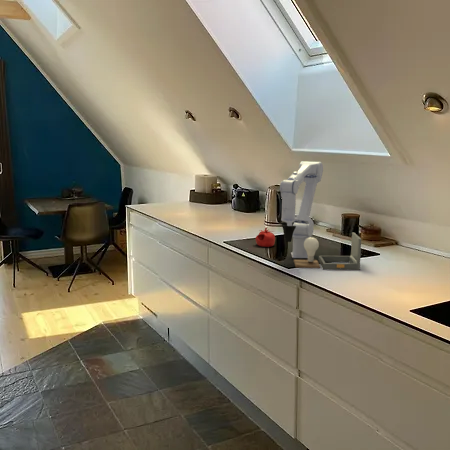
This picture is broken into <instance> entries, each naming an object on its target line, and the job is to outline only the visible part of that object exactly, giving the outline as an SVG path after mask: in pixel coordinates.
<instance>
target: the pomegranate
mask: <svg viewBox="0 0 450 450" xmlns="http://www.w3.org/2000/svg"><path fill="white" fill-rule="evenodd" d="M258 231H259V233H258V234H257V235H256V236H255V243H256V245H257V246H259V247H262V248H271V247H273V246H274V245H275V242H276V237H275V236H276V235H275V234H274V230H270V229H268V227H265V228H264V229H263V230H262V229H259V230H258Z"/></svg>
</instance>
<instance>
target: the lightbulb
mask: <svg viewBox="0 0 450 450" xmlns="http://www.w3.org/2000/svg"><path fill="white" fill-rule="evenodd" d="M319 243H320V242H319V241H318V239H317V238H316V237H313V236H311V237H309V238H307V239H306V240H305V241H304V248H305V250H306V251H307V255H308V258H307V260H308V262H310V263H312V262H313V261H314V260H315V255H316V252H317V250H318V249H319V246H320V244H319Z"/></svg>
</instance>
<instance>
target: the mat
mask: <svg viewBox="0 0 450 450" xmlns="http://www.w3.org/2000/svg"><path fill="white" fill-rule="evenodd" d="M293 263H294V266H295V268H296V269H297V268H299V269H300V268H302V269H303V268H304V269H320V268H321V265H320V263H319V260H317V259H314V261H313V262H312V263H310V262H308V259H293Z"/></svg>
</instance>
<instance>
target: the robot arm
mask: <svg viewBox="0 0 450 450" xmlns="http://www.w3.org/2000/svg"><path fill="white" fill-rule="evenodd" d="M323 173H324V165H323V162H321V161H304V160H301V161H300V163H299V165H298V170H297V171H293V172H292V173H291V174H290V175H289V176H288V178H287V179H283V180H282V181H280V186H279V191H280V198H281V199H282V200H281V219H280V224H281V226H282V231H283V238H284V239H285V242H286V243H290V242H292V252H290V255H291V257H292V259H308V255H307V251H306V250H305V248H304V241H305V240H306V239H307V238H309V237H313V234H314V225H315V222H314V220H313V219H312V218H311V217H310V216H311V211H312V207H313V203H314V198H315V193H316V190H317V186H318V184H319V183H320V182H321V181H322V178H323ZM303 183H305V185H304V191H303V194H302V199H301V202H300V207H299V211H298V214H297V215H296V205H297V201H296V200H297V197H296V196H297V194H298V192H299V189H300V186H301V185H302V184H303Z"/></svg>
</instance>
